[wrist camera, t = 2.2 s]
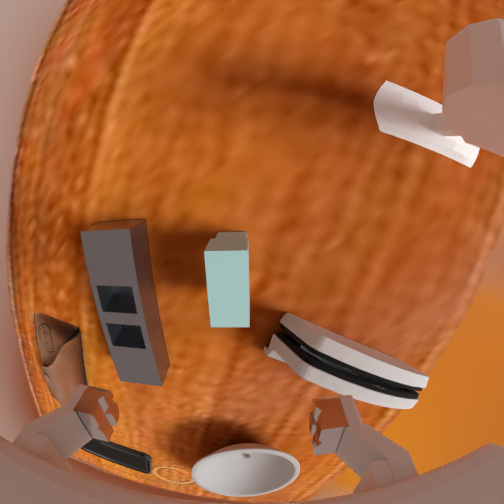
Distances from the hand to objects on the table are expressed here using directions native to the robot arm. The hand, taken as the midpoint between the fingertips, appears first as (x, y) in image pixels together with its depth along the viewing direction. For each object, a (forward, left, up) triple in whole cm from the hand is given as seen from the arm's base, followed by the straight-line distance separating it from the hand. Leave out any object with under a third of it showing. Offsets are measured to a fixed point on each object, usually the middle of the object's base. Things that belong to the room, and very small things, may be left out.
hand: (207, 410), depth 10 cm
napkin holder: (+10, +12, -17) cm, 22 cm away
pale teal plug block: (0, 0, -16) cm, 16 cm away
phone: (+36, -24, -17) cm, 46 cm away
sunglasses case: (+15, -24, -17) cm, 33 cm away
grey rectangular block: (+4, -10, -16) cm, 19 cm away
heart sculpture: (-13, +19, -16) cm, 28 cm away
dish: (+30, 0, -16) cm, 34 cm away
